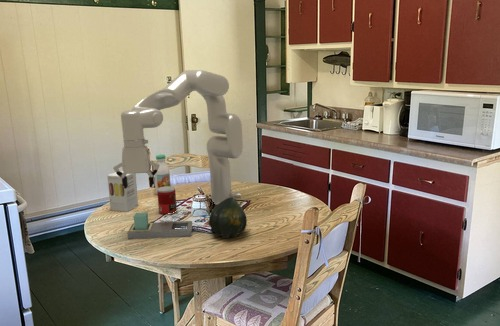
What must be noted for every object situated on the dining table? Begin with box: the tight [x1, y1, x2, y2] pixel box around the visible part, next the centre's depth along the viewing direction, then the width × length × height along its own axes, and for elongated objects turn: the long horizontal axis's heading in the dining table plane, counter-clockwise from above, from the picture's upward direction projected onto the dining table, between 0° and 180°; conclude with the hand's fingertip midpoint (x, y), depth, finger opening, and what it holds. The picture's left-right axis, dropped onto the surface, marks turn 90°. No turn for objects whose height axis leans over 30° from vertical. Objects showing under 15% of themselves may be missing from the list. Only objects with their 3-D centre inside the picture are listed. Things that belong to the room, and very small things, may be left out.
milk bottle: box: [153, 154, 172, 196], centre depth 220 cm, size 8×8×20 cm
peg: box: [133, 212, 150, 230], centre depth 170 cm, size 4×4×8 cm
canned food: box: [156, 186, 177, 216], centre depth 193 cm, size 8×8×11 cm
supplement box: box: [107, 170, 139, 213], centre depth 199 cm, size 10×9×17 cm
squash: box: [208, 197, 248, 239], centre depth 167 cm, size 14×15×15 cm
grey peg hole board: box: [127, 220, 193, 240], centre depth 171 cm, size 24×10×3 cm, turn 93°
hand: (138, 186), depth 167 cm, fingers open, 9 cm apart
